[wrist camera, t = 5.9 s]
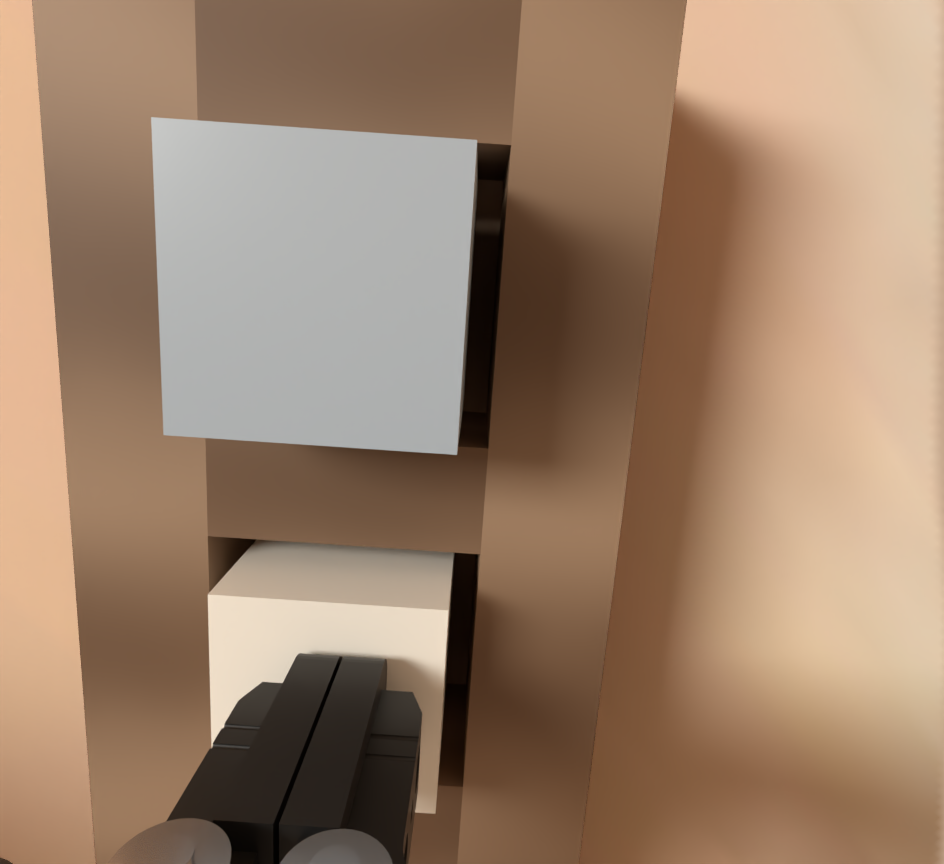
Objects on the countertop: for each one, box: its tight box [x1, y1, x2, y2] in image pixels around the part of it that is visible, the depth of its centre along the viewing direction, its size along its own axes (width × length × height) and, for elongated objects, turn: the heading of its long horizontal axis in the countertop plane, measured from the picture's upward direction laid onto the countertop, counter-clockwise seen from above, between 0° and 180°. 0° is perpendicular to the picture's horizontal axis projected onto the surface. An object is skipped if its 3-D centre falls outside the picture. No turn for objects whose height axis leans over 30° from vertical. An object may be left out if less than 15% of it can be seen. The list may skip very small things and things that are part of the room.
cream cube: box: [208, 539, 455, 814], centre depth 13 cm, size 4×4×4 cm
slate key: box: [151, 117, 478, 455], centre depth 10 cm, size 4×4×4 cm
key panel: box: [32, 0, 687, 864], centre depth 14 cm, size 24×10×4 cm, turn 176°
